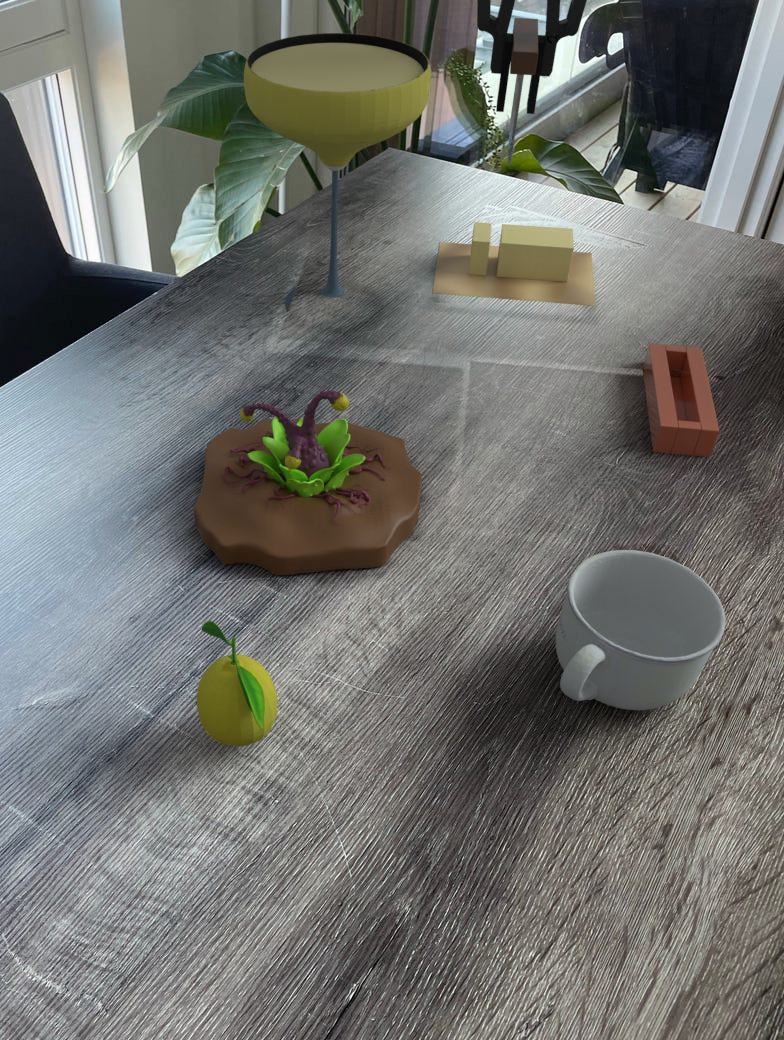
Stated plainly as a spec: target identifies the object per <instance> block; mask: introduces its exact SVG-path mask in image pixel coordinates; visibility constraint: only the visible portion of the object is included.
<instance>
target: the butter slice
mask: <svg viewBox="0 0 784 1040" xmlns="http://www.w3.org/2000/svg"><path fill="white" fill-rule="evenodd" d="M492 226H493V225H492V223H491V222H478V221H474V222H473V229H472V236H471V237H472V238H471V244H472V245H471V253H470V263H469V273H468V274H469V275H481V276H486V271H487V263H488V256H489V248H490V246H491V240H492V239H491V238H492Z"/></svg>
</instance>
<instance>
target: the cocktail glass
mask: <svg viewBox="0 0 784 1040" xmlns="http://www.w3.org/2000/svg"><path fill="white" fill-rule="evenodd" d="M431 67H432V66H431V63H430V60H429V58H428V56H426V54H425V53H424V52H422V51H421V50H420V49H418V48H416V47H415V46H412V45H410V44H409V43H405V42H403V41H401V40H400V41H399V40H395V39H392V38H388V37H382V36H378V35H370V34H362V33H361V34H360V33H351V32H350V33H347V32H324V33H309V34H301V35H294V36H289V37H284V38H281V39H276V40H273V41H270V42H267V43H265V44H263V45H261V46H259V47H256V49H254V50H252V51H251V52H250V53H249V55H248V56H247V58H246V61H245V64H244V68H243V88H244V95H245V99H246V103H247V106H248V108H249V109H250V111H251V113H252V114H253V115H254V116H255V118H256V119H257V120H258V121H259V122H261V123H262V124H263V125H264V126H265V127H267V129H269V130H271V131H272V132H274V133H275V134H277V135H279V136H281V137H283V138H284V139H286V140H289V141H291V142H293V143H296V144H298V145H301V146H303V147H305V148H308V149H310V150H311V151H312V152H314V153H315V154H316V155H317V157H318V158H319V160H320V162H321V163H322V164H323V166H324V167H325V168H326V169H327V170H330V171H331V217H330V218H331V220H330V246H329V247H330V249H329V267H328V275H327V281H326V285H325V287H324V288H323V289H321V294H322V296H323V297H326V298H331V299H332V298H334V299H335V298H340V297H342V296H343V295H344V294H345V291H344V289H342V288H341V287H340V281H339V275H338V199H339V197H338V196H339V195H338V194H339V171H341V170H343V169H345V167H347V165H348V164H350V162H351V160H352V159H353V157H355V155H356V154H357V153H358V152H360V151H362V150H363V149H366V148H368V147H370V146H374V145H376V144H378V143H381V142H384V141H387V140H388V139H390V138H392V137H395V136H396V135H398V134H399V133H401V132H404V130H406V129H407V128H408V127H410V126H411V125H412V124H413V123H414V122H416V120H417V119H419V117H420V116H421V115H422V114H423V112H424V111H425V109H426V107H427V105H428V102H429V98H430V92H431V88H432V87H431V85H432V68H431ZM296 290H297V286H296V287H294V288H292V289H291V290H290V291H289V292H288V293H287V294H286V296H285V298H284V307H285V309H286V312H289V311H290V307H291V304H292V302H293V299H294V295H295V293H296Z"/></svg>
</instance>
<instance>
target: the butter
mask: <svg viewBox="0 0 784 1040" xmlns="http://www.w3.org/2000/svg"><path fill="white" fill-rule="evenodd" d="M498 246H499V251H498V259H497V275H496V277H506V278H519V279H532V280H546V281H559V282H567V281H568V276H569V271H570V266H571V260H572V255H573V252H574V250H575V244H574V229H573V228H566V227H553V226H537V225H523V224H507V223H502V224H501V229H500V237H499V245H498Z"/></svg>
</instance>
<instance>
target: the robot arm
mask: <svg viewBox="0 0 784 1040" xmlns="http://www.w3.org/2000/svg"><path fill="white" fill-rule="evenodd" d="M491 2H492V0H477V8H476V9H477V13H476V18H477V19H476V20H477V21H476V26H477V29H478V30H479V31H480V32H486V33H487V34H489V35H491V37H492V38H493V39H492V40H493V42H492V50H491V57H490V67H489V68H490V72H491V74H496V75H500V77H499V84H498V91H497V99H496V110H495V112H497V113H504V112H505V104H506V99H507V98H506V97H507V90H508V82H509V76H510V63H511V54H512V46H513V32H512V33H511V32H509V27H510V23H511V19H512V15H513V11H514V7H515V3H516V0H500V4H499V9H498V13H497V16H495V15H493V14H491V8H492V7H491V6H492V3H491ZM586 5H587V0H570V3H569V6H568V10H567V14H566V17H565V18H563V19H560V16H561V15H560V14H561V0H546V13H545V32H544V34H538V59H537V66H536V72H535V75H530V80H529V88H528V95H527V102H526V115H527V114H529V115H535V113H536V112H535V111H536V105H537V99H538V92H539V86H540V79H541V77H547V78H549V77H550V76H551V74H552V73H553V70H554V63H555V57H556V52H557V46H558V43H559V41H560V40H561V39H564V38H566V37H575V36H576V35H577V34H578V32H579V29H580V25H581V22H582V18H583V15H584V11H585V8H586Z"/></svg>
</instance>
